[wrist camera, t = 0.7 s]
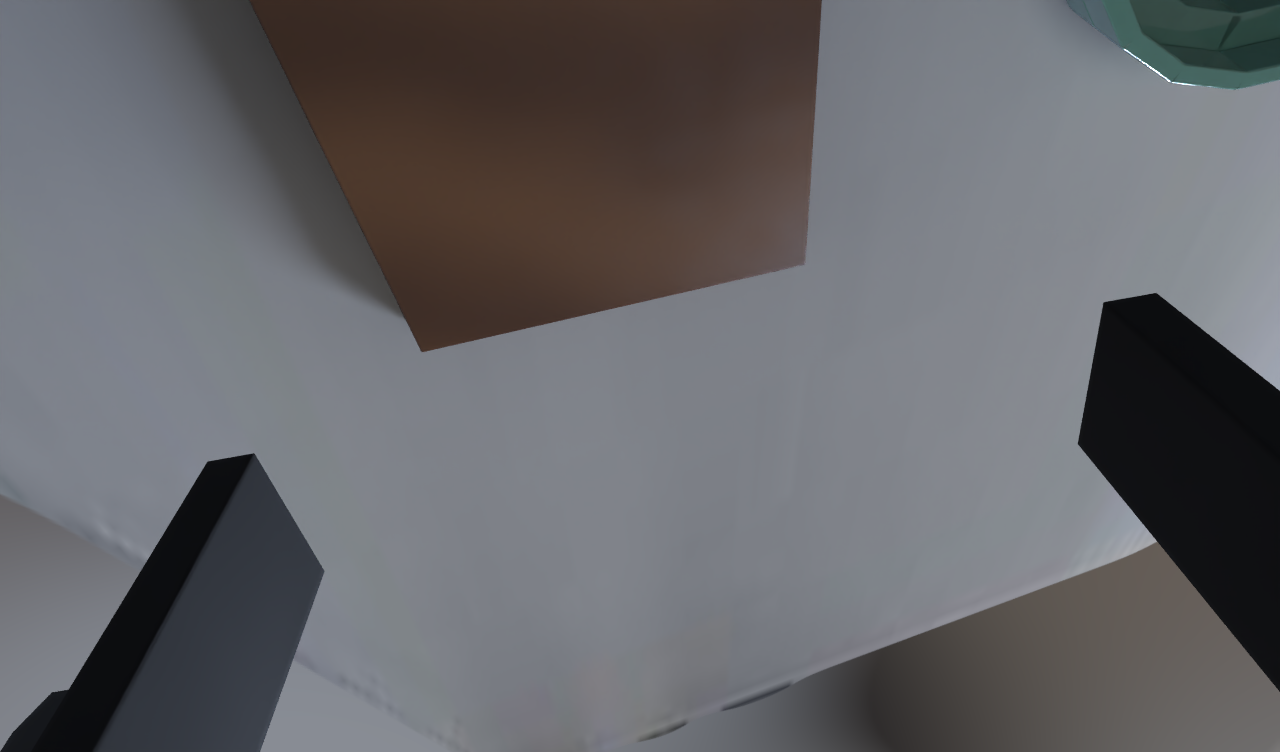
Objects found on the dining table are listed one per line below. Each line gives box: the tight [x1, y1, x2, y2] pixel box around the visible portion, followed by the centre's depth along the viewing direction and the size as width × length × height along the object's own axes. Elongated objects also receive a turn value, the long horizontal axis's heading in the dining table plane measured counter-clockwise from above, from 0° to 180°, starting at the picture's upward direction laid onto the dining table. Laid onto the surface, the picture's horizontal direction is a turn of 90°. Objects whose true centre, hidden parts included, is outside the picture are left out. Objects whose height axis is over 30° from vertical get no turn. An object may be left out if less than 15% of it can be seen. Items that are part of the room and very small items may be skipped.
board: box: [249, 0, 822, 352], centre depth 21 cm, size 20×14×1 cm
